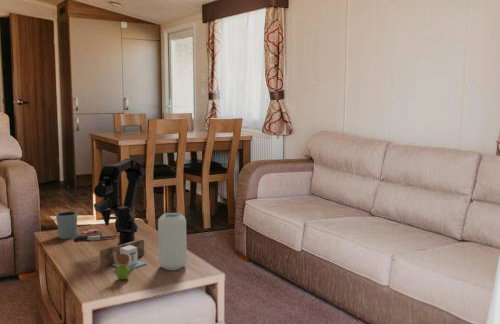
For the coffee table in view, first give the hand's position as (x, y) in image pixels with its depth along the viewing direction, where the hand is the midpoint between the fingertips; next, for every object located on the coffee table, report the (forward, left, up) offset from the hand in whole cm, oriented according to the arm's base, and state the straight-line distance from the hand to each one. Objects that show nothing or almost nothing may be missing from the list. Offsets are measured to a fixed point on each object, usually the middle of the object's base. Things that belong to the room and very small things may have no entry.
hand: (113, 227), depth 227 cm
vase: (-4, +35, -12) cm, 37 cm away
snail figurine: (+18, +30, -12) cm, 37 cm away
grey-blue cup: (-1, -40, -12) cm, 42 cm away
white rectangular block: (+6, +19, -11) cm, 23 cm away
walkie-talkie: (-8, -27, -13) cm, 31 cm away
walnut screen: (+4, +12, -12) cm, 17 cm away
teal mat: (+6, +19, -12) cm, 23 cm away
